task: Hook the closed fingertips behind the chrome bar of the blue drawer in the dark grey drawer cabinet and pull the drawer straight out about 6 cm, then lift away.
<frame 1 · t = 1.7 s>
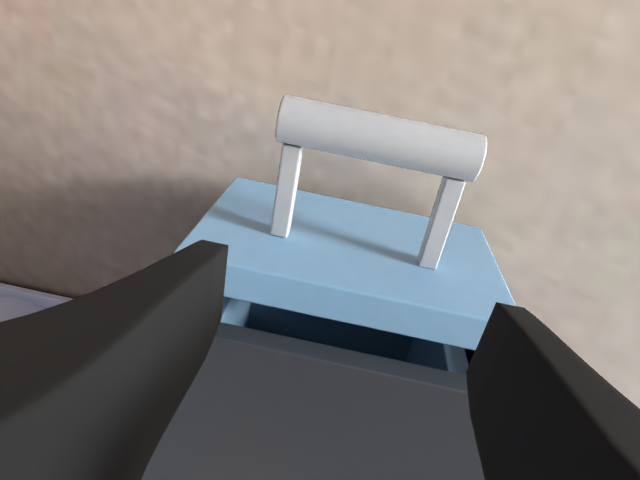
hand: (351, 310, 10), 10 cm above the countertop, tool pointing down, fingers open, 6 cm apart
dark grey drawer cabinet: (322, 349, 24), on the countertop
blue drawer: (332, 327, 18), point 4 cm above the countertop, slide at 0.8 cm
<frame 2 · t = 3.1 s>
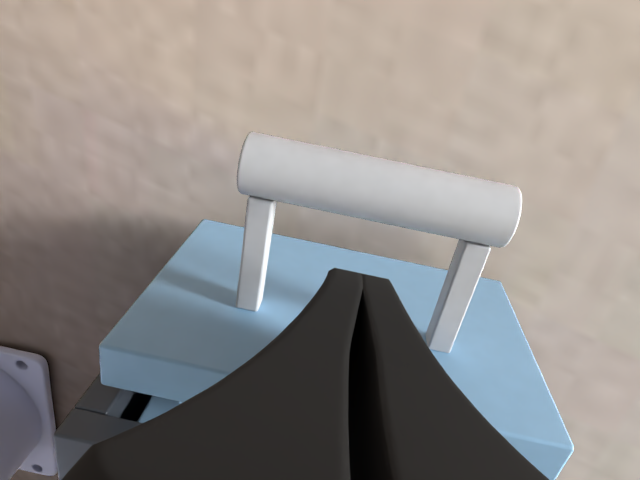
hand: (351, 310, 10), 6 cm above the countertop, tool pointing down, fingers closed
dark grey drawer cabinet: (312, 409, 21), on the countertop
blue drawer: (319, 407, 15), point 4 cm above the countertop, slide at 0.7 cm
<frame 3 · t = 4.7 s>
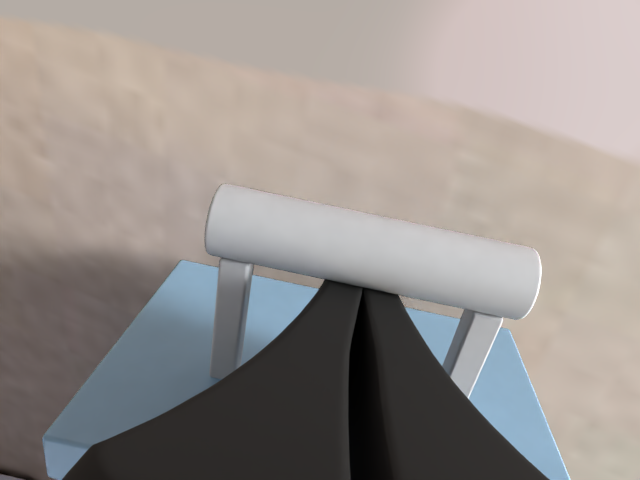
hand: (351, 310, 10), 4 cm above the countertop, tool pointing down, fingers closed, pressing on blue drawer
blue drawer: (308, 474, 13), point 4 cm above the countertop, slide at 6.1 cm, touching gripper
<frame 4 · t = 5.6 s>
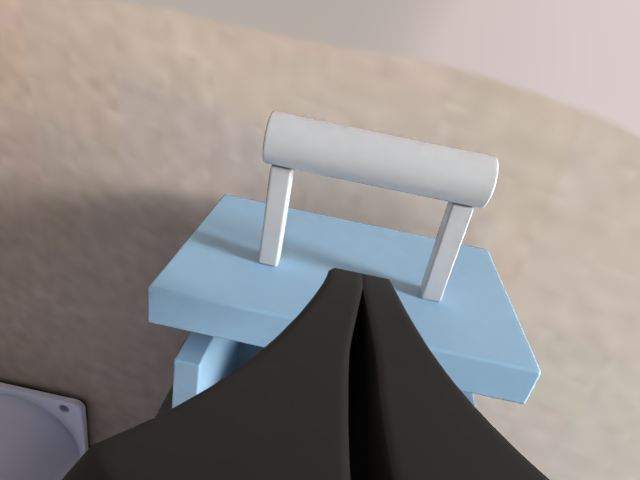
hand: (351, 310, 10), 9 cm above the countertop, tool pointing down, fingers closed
blue drawer: (327, 358, 17), point 4 cm above the countertop, slide at 6.1 cm
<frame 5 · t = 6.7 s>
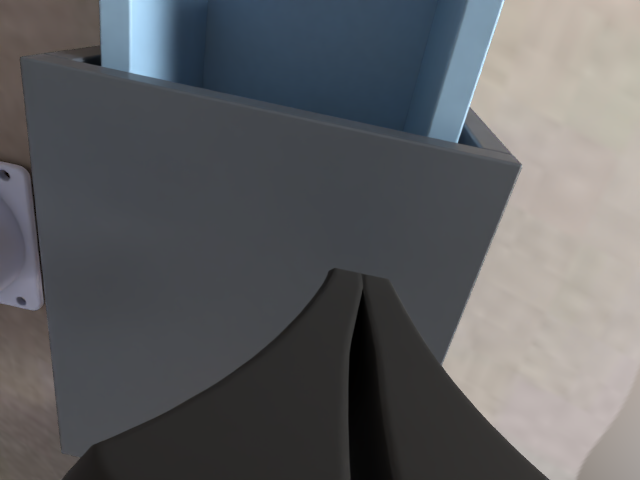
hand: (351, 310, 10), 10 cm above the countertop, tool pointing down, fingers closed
dark grey drawer cabinet: (288, 222, 21), on the countertop
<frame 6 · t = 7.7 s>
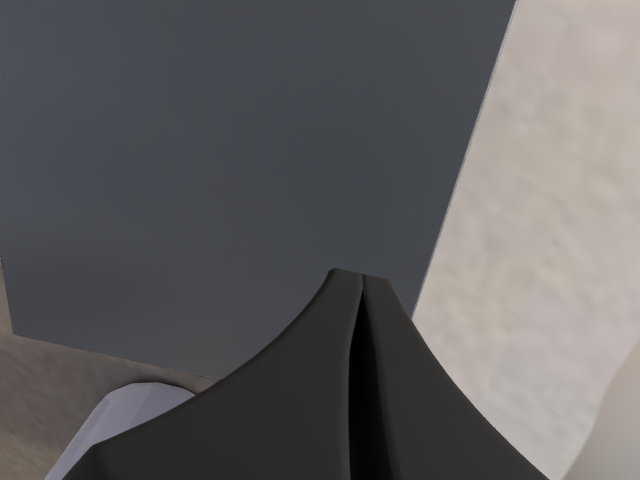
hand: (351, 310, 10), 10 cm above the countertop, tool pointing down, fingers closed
dark grey drawer cabinet: (278, 100, 19), on the countertop
soap bottle: (169, 432, 29), on the countertop
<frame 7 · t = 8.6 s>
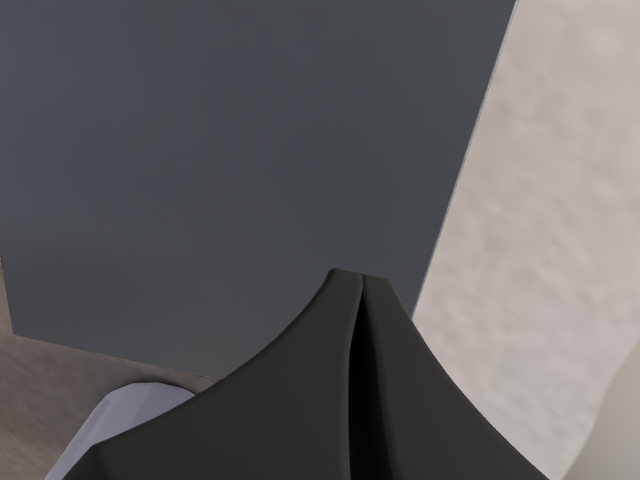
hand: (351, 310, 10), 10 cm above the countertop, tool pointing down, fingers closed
dark grey drawer cabinet: (278, 100, 19), on the countertop
soap bottle: (169, 432, 29), on the countertop
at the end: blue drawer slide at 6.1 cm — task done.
